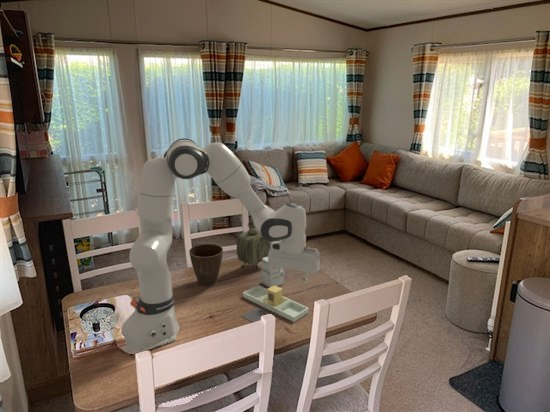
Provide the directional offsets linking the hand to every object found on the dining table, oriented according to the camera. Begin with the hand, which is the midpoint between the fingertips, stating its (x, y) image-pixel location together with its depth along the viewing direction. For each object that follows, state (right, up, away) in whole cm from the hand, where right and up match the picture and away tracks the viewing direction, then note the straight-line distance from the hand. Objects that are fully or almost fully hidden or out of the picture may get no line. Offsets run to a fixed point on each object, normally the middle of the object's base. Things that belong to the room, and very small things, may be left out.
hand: (293, 278), depth 156 cm
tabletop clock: (-17, -3, +45) cm, 49 cm away
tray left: (-14, -11, +17) cm, 25 cm away
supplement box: (-8, -8, +28) cm, 30 cm away
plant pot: (-38, -7, +29) cm, 48 cm away
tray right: (0, -15, +4) cm, 16 cm away
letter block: (-7, -12, +10) cm, 18 cm away
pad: (-14, -15, +2) cm, 21 cm away
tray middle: (-7, -13, +10) cm, 18 cm away
